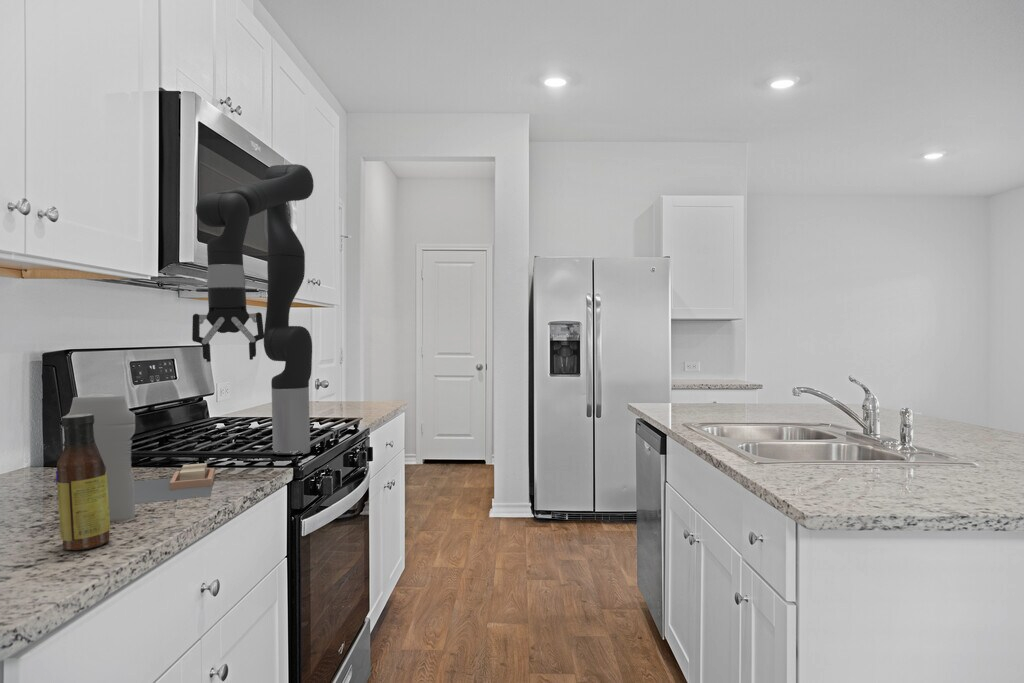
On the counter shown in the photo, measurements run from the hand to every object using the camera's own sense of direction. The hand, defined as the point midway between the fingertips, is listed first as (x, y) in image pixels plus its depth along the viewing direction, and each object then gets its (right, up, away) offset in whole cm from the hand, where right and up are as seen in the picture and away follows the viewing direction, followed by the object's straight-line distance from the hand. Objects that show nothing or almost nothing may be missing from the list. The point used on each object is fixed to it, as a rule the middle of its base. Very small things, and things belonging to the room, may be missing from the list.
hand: (230, 360), depth 138 cm
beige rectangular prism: (-5, -25, -5) cm, 27 cm away
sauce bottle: (-3, -27, -42) cm, 50 cm away
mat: (-7, -26, -11) cm, 29 cm away
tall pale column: (-8, -27, -31) cm, 42 cm away
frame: (-5, -26, -5) cm, 27 cm away
